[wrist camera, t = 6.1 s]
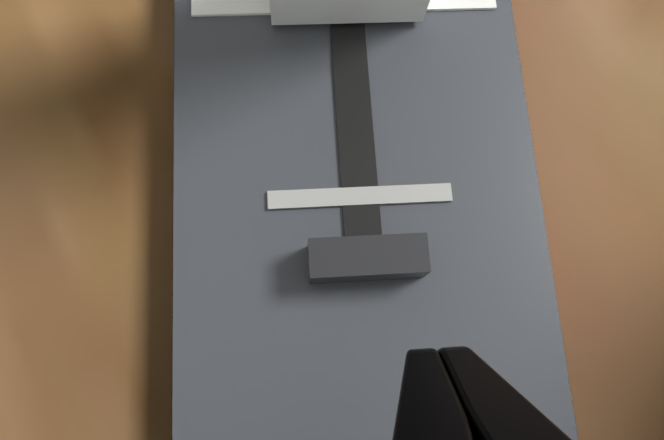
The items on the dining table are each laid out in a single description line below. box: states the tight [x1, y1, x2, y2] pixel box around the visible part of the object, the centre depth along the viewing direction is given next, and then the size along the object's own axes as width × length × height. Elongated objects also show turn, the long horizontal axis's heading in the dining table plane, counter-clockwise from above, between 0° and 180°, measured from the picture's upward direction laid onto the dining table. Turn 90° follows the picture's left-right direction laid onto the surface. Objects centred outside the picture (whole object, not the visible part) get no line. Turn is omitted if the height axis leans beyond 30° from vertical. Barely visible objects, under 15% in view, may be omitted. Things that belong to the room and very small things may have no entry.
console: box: [172, 0, 578, 440], centre depth 16 cm, size 18×10×2 cm, turn 3°
